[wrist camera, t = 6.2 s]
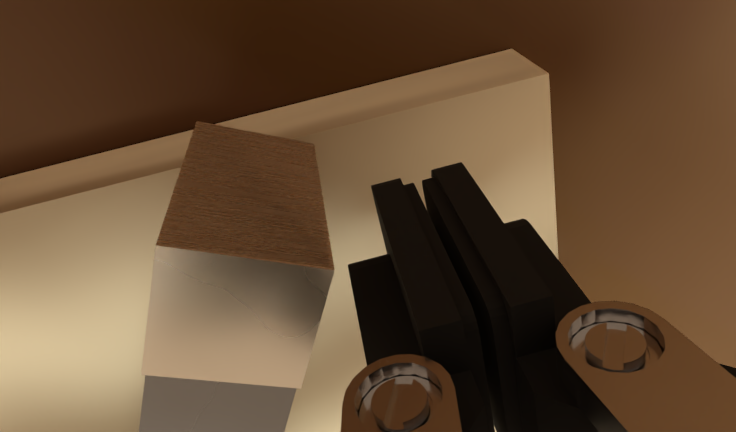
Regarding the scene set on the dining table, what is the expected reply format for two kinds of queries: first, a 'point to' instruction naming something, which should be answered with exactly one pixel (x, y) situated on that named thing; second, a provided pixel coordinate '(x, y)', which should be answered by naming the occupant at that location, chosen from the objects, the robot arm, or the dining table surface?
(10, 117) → the dining table surface
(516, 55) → the board
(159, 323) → the silver piece
